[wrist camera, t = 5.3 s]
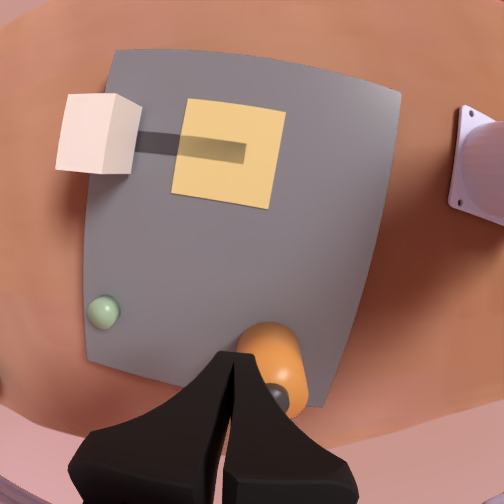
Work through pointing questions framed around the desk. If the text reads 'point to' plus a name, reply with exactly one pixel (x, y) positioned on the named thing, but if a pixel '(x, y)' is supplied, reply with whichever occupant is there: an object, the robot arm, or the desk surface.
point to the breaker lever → (98, 134)
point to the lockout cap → (278, 363)
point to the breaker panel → (235, 212)
